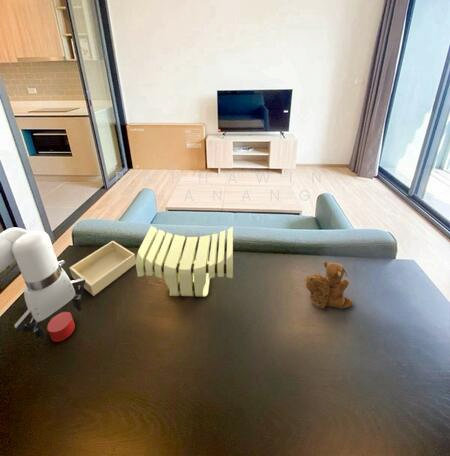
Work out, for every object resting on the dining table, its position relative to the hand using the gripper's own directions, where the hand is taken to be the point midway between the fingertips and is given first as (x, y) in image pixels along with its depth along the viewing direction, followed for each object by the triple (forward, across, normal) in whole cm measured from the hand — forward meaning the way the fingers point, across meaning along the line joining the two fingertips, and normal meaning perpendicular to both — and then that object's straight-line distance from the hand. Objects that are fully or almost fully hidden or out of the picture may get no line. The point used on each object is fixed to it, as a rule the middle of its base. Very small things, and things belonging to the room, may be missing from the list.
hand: (60, 321), depth 70 cm
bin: (+4, -20, -11) cm, 23 cm away
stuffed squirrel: (+6, -53, +62) cm, 81 cm away
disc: (+4, 0, 0) cm, 4 cm away
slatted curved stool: (+5, -34, +20) cm, 39 cm away
